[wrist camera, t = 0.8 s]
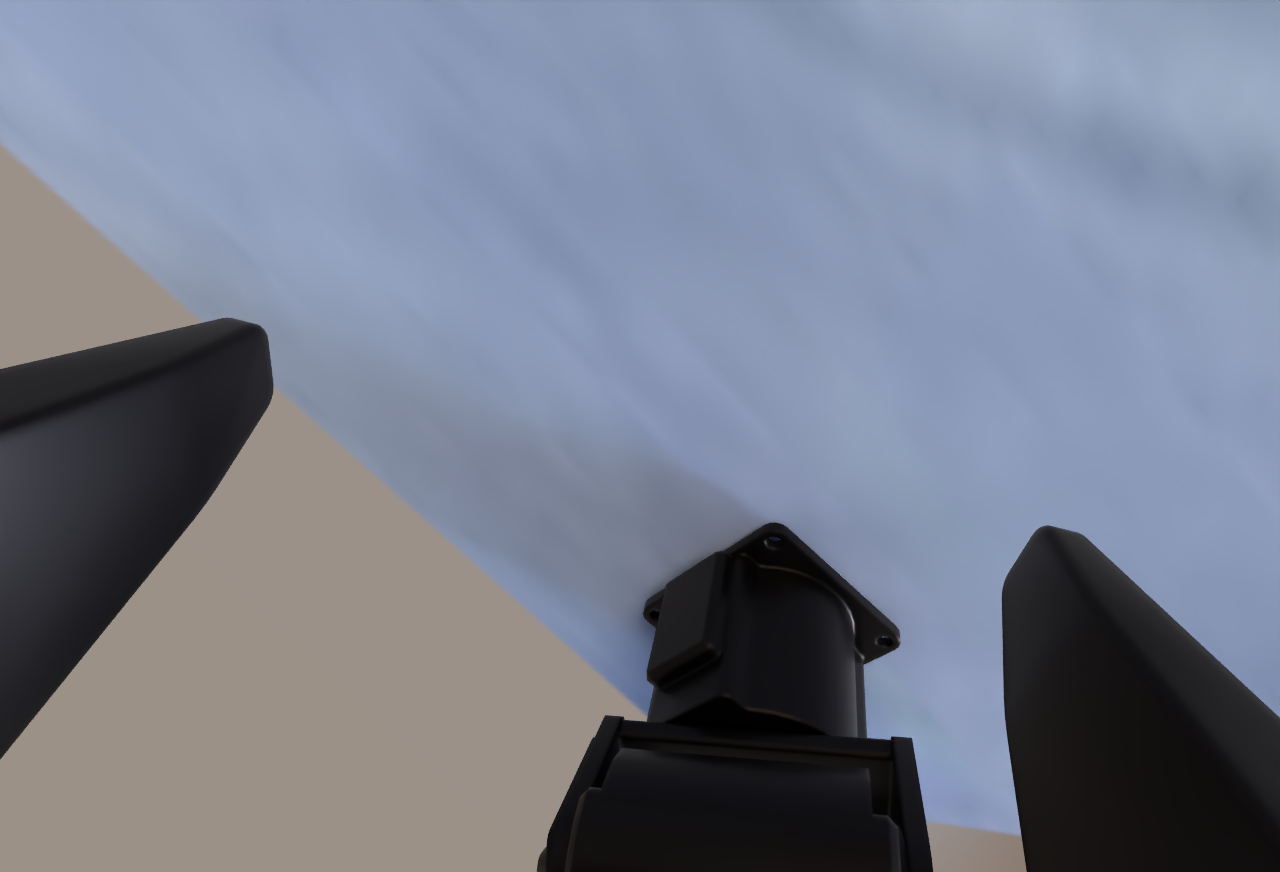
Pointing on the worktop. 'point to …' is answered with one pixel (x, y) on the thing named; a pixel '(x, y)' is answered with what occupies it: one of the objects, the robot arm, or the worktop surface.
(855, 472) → the worktop surface
